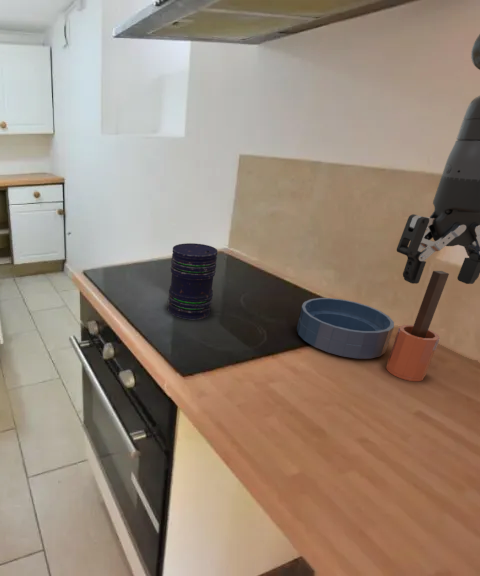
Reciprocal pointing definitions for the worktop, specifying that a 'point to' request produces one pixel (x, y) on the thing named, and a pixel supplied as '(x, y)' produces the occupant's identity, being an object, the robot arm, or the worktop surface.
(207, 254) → the storage jar
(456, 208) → the robot arm
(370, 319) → the bowl
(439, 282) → the stirring stick
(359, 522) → the worktop surface
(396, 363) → the utensil holder
